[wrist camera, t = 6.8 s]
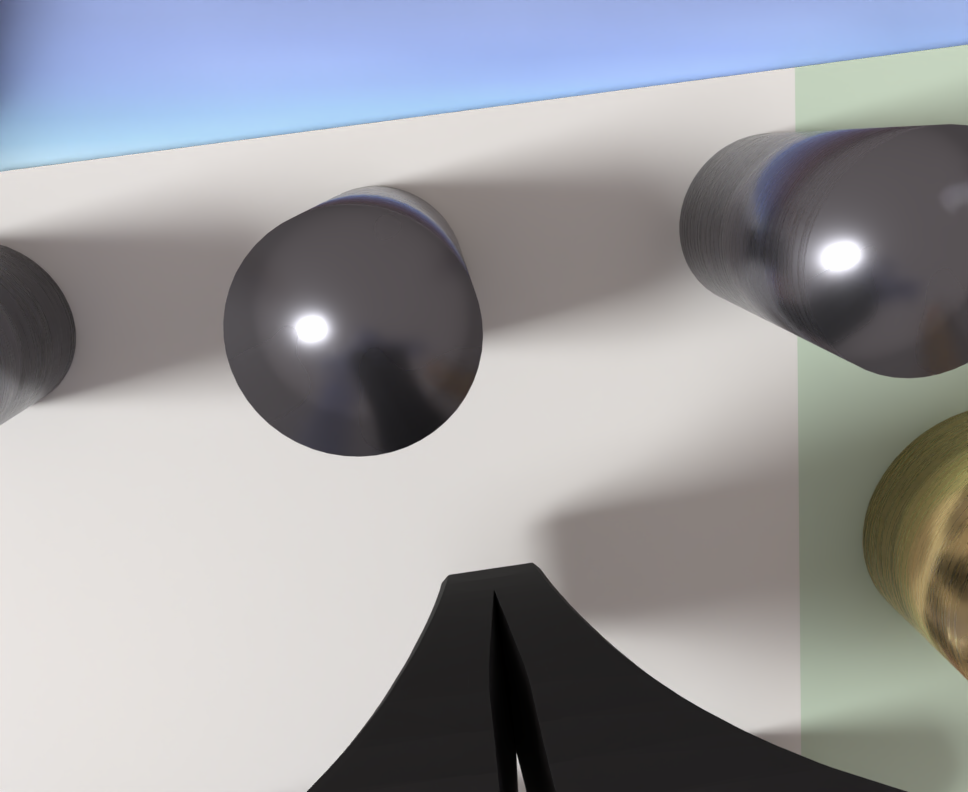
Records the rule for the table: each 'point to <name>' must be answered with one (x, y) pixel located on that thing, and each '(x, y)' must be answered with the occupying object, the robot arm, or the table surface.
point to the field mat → (456, 452)
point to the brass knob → (925, 537)
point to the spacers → (456, 312)
